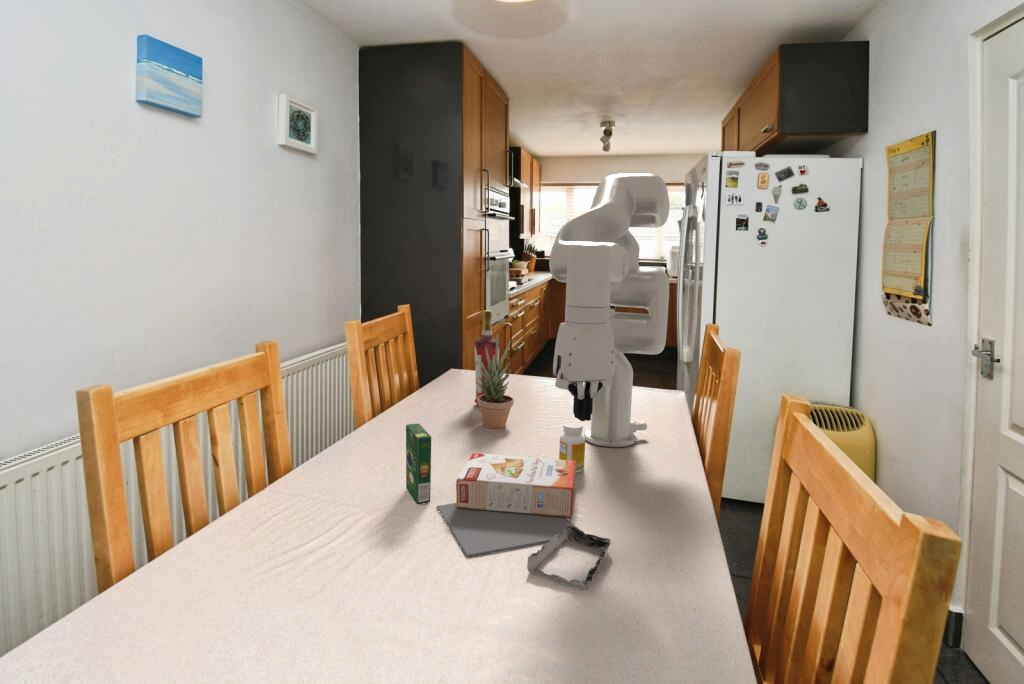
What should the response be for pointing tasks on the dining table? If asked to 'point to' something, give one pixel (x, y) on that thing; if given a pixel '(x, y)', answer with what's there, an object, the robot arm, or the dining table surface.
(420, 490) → the coffee box
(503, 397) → the potted plant
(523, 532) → the notebook
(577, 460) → the supplement bottle
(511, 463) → the cracker box
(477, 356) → the liquor
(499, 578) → the dining table surface
